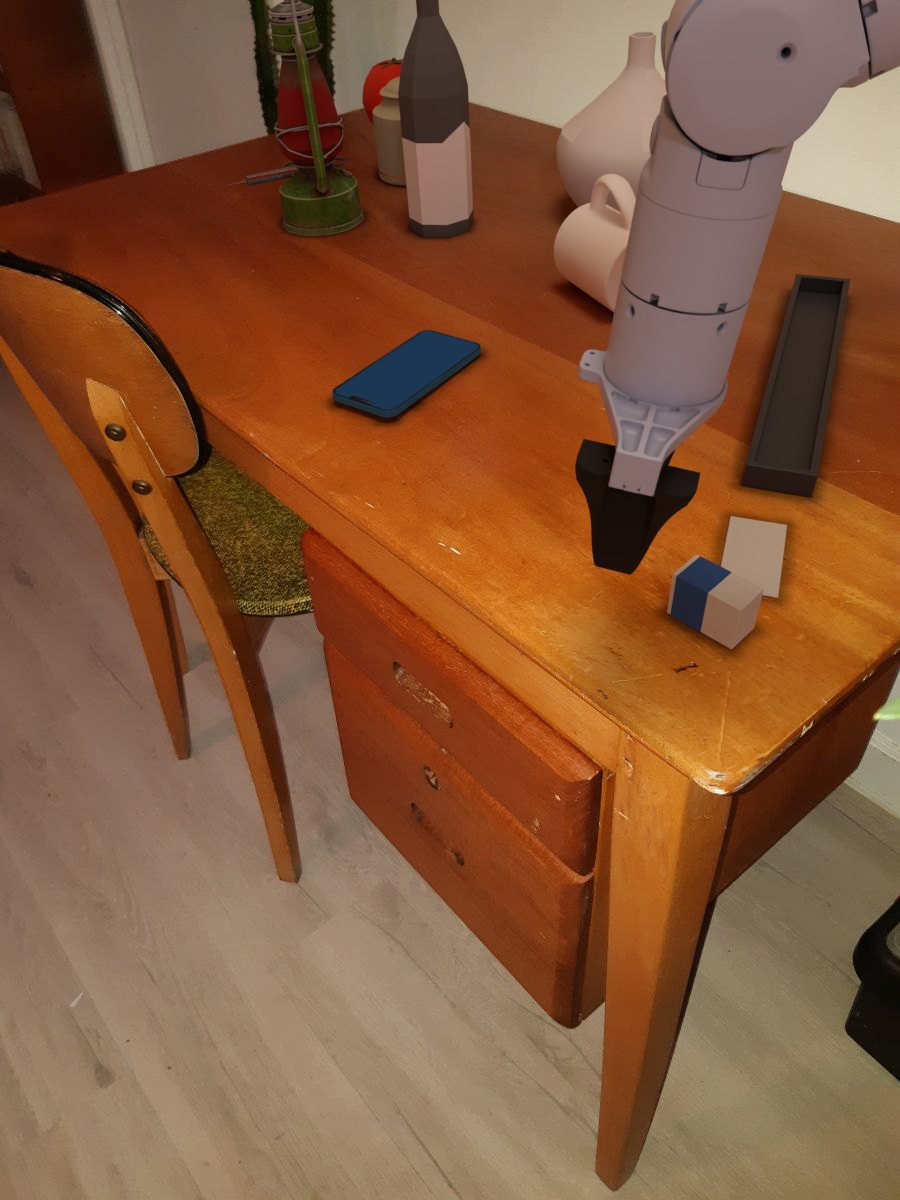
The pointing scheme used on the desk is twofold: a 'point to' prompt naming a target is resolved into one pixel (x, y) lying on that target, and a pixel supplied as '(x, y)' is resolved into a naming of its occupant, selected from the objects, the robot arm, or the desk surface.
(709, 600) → the eraser
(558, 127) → the desk surface
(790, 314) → the tray
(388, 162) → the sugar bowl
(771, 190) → the robot arm
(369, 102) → the tomato
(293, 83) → the lantern
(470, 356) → the smartphone
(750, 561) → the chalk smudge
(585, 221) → the mug
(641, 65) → the vase
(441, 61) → the wine bottle
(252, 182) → the syringe
